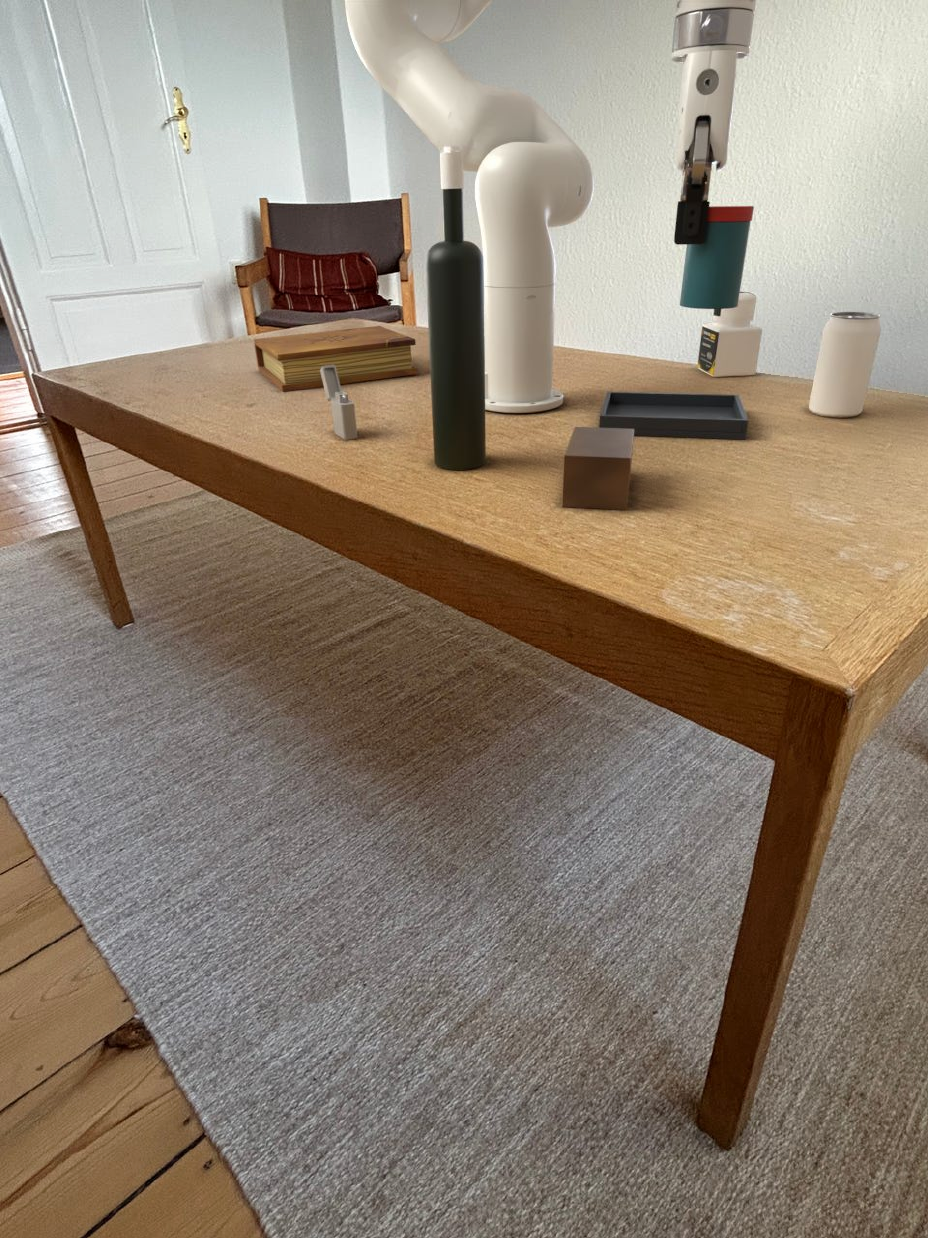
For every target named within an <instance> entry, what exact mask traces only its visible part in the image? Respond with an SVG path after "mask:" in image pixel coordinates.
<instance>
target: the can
mask: <svg viewBox="0 0 928 1238" xmlns="http://www.w3.org/2000/svg"><path fill="white" fill-rule="evenodd" d="M829 316H830V318H829V319H828V321H827V322H826V324H825V325H824V328H823V332H822V337H821V342H820V346H819V352H818V356H817V361H816V367H815V371H814V377H813V382H812V387H811V391H810V397H809V403H808V410H809V411H810V413H811V414H814V415H816V416H820V417H826V418H834V419H849V418H855V417H857V416H859V415H860V414H861V413H862V412H863V411H864V406H865V401H866V397H867V394H868V389H869V385H870V381H871V376H872V371H873V367H874V363H875V359H876V355H877V350H878V345H879V340H880V337H881V332H882V331H881V330H882V326H881V323H880V318H881V315H880V314H878V313H874V312H868V311H867V312H866V311H836V312H832V313H830V315H829Z"/></svg>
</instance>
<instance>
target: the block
mask: <svg viewBox="0 0 928 1238" xmlns="http://www.w3.org/2000/svg"><path fill="white" fill-rule="evenodd" d="M634 440H635V436H634V429H625V428H599V427H592V426H591V427H590V426H574V429H573V430H572V434H571V436H570V439H569V442H568V445H567V447H566V450H565V453H564V456H563V475H562V476H563V477H562V478H563V480H562V500H561V501H562V502H561V503H562V504H561V505H562V507H563V508H577V509H578V508H581V509H595V510H596V509H597V510H616V511H627V508H628V502H629V501H628V500H629V492H630V483H631V475H632V463H633V452H634V451H633V450H634Z"/></svg>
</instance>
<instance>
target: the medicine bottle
mask: <svg viewBox="0 0 928 1238" xmlns="http://www.w3.org/2000/svg"><path fill="white" fill-rule="evenodd" d="M756 303H757V296H756V295H755V294H753V293H751V292H748V291H740V294H739V301H738V306H737V307H735V308H728V309H713V314H712V320H713V321H714V322H707V323H703V324H702V326H701V333H700V341H699V349H698V358H697V364H696V365H697V367H696V368H697V369H698V370H699V371H701V372H703V373H705V374H706V375H708V376H710V377H712V378H719V377H721V378H722V377H745V376H755V375H756V372H757V367H758V360H759V354H760V349H761V342H762V335H763V328H762V327H760V326H757V325H753V324H751V323H752V322H753V321H754V316H755V310H756Z"/></svg>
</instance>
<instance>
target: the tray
mask: <svg viewBox="0 0 928 1238" xmlns="http://www.w3.org/2000/svg"><path fill="white" fill-rule="evenodd" d="M748 426H749V418H748V416H747V413H746V410H745V408H744V406H743V402H742V399H741V397H740V395H739V394H723V393H721V394H719V393H687V392H686V393H681V392H639V391H638V392H637V391H606V393H605V396H604V400H603V405H602V407H601V411H600V413H599V424H598V428H625V429H634V437H658V438H659V437H660V438H661V437H662V438H663V437H664V438H687V439H688V438H689V439H691V438H692V439H716V440H717V439H718V440H744V441H745V440H746V439H747V432H748Z"/></svg>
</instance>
